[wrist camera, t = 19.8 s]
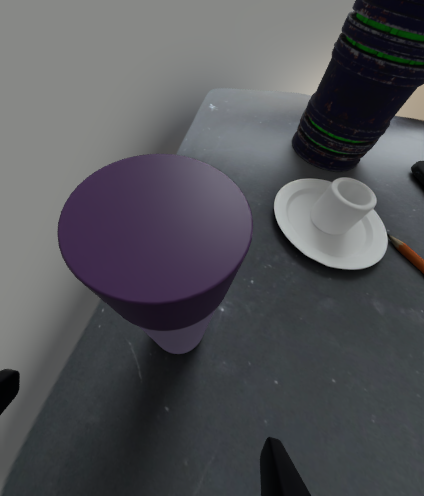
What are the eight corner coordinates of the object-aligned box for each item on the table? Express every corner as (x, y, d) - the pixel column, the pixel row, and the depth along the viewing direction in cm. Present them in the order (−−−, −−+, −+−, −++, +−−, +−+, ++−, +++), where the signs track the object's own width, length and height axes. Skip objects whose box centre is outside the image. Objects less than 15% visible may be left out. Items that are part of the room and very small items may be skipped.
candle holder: (313, 289, 18) (346, 268, 14) (252, 193, 23) (265, 160, 20) (406, 253, 21) (452, 228, 18) (333, 176, 27) (357, 144, 23)
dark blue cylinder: (373, 165, 29) (521, 2, 16) (320, 178, 26) (448, -6, 13) (328, 126, 33) (416, -27, 20) (278, 133, 30) (344, -38, 18)
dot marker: (190, 366, 14) (205, 349, 3) (143, 340, 15) (3, 243, 3) (213, 315, 16) (274, 189, 5) (170, 294, 16) (137, 135, 5)
